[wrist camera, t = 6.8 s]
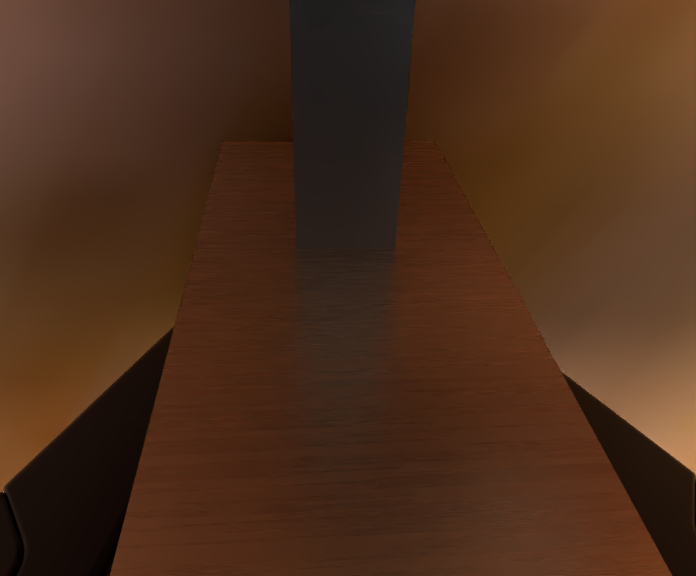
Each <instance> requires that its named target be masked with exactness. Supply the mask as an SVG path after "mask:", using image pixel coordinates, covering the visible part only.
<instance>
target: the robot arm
mask: <svg viewBox="0 0 696 576" xmlns="http://www.w3.org/2000/svg"><path fill="white" fill-rule="evenodd" d="M173 330H174V327H173V328H171V329H170V330H169V331H168V332H167V333H166V334H165V335H164V336H163V337H162V338H161V339H160V340H159V341H158V342H157V343H156V344H155V345H153V346H152V347H151V348H150V349H149V350H148V351H147V352H146V353H145V354H144V355H143V356H142V357H141V358H140V359H139V360H138V361H137V362H135V363H134V364H133V365H132V366H131V367H130V368H129V369H128V370H127V371H126V372H125V373H124V374H123V375H122V376H121V377H120V378H119V379H117V380H116V381H115V382H114V383H113V384H112V385H111V386H110V387H109V388H108V389H107V390H106V391H105V392H104V393H103V394H102V395H100V396H99V397H98V398H97V399H96V400H95V401H94V402H93V403H92V404H91V405H90V406H89V407H88V408H87V409H86V410H85V411H84V412H82V413H81V414H80V415H79V416H78V417H77V418H76V419H75V420H74V421H73V422H72V423H71V424H70V425H69V426H68V427H67V428H66V429H64V430H63V431H62V432H61V433H60V434H59V435H58V436H57V437H56V438H55V439H54V440H53V441H52V442H51V443H50V444H49V445H48V446H46V447H45V448H44V449H43V450H42V451H41V452H40V453H39V454H38V455H37V456H36V457H35V458H34V459H33V460H32V461H31V462H30V463H28V464H27V465H26V466H25V467H24V468H23V469H22V470H21V471H20V472H19V473H18V474H17V475H16V476H15V477H14V478H13V479H11V480H10V481H9V482H8V483H7V484H6V485H5V486H4V489H3V490H4V493H3V492H0V576H110V573H111V569H112V565H113V561H114V557H115V554H116V550H117V546H118V542H119V538H120V534H121V530H122V527H123V523H124V519H125V515H126V511H127V507H128V503H129V500H130V496H131V492H132V488H133V484H134V480H135V476H136V473H137V469H138V465H139V461H140V457H141V453H142V449H143V446H144V442H145V438H146V434H147V430H148V426H149V422H150V419H151V415H152V411H153V407H154V403H155V399H156V395H157V392H158V388H159V384H160V380H161V376H162V372H163V368H164V365H165V361H166V357H167V353H168V349H169V345H170V341H171V338H172V334H173ZM561 373H562V372H561ZM562 375H563V376H564V378H565V380H566V382H567V384H568V386H569V387H570V389H571V391H572V393H573V395H574V397H575V398H576V400H577V402H578V404H579V406H580V408H581V409H582V411H583V413H584V415H585V417H586V419H587V420H588V422H589V424H590V426H591V428H592V430H593V431H594V433H595V435H596V437H597V439H598V441H599V442H600V444H601V446H602V448H603V450H604V452H605V453H606V455H607V457H608V459H609V461H610V463H611V464H612V466H613V468H614V470H615V472H616V474H617V475H618V477H619V479H620V481H621V483H622V485H623V486H624V488H625V490H626V492H627V494H628V496H629V497H630V499H631V501H632V503H633V505H634V507H635V508H636V510H637V512H638V514H639V516H640V518H641V519H642V521H643V523H644V525H645V527H646V529H647V530H648V532H649V534H650V536H651V538H652V540H653V541H654V543H655V545H656V547H657V549H658V551H659V552H660V554H661V556H662V558H663V560H664V562H665V563H666V565H667V567H668V569H669V571H670V573H671V574H672V576H696V475H695V473H693V472H692V471H691V470H690V469H688V468H687V467H686V466H684V465H683V464H682V463H680V462H679V461H678V460H676V459H675V458H674V457H673V456H671V455H670V454H669V453H667V452H666V451H665V450H663V449H662V448H661V447H659V446H658V445H657V444H655V443H654V442H653V441H652V440H650V439H649V438H648V437H646V436H645V435H644V434H642V433H641V432H640V431H638V430H637V429H636V428H635V427H633V426H632V425H631V424H629V423H628V422H627V421H625V420H624V419H623V418H621V417H620V416H619V415H617V414H616V413H615V412H614V411H612V410H611V409H610V408H608V407H607V406H606V405H604V404H603V403H602V402H600V401H599V400H598V399H596V398H595V397H594V396H593V395H591V394H590V393H589V392H587V391H586V390H585V389H583V388H582V387H581V386H579V385H578V384H577V383H576V382H574V381H573V380H572V379H570V378H569V377H568V376H566V375H565V374H564V373H562Z"/></svg>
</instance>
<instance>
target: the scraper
mask: <svg viewBox="0 0 696 576" xmlns="http://www.w3.org/2000/svg"><path fill="white" fill-rule="evenodd" d="M414 12H415V0H290V29H291V69H292V109H293V141H222V145H221V149H220V152H219V156H218V160H217V164H216V168H215V172H214V176H213V179H212V183H211V187H210V191H209V195H208V199H207V203H206V206H205V210H204V214H203V218H202V222H201V226H200V230H199V233H198V237H197V241H196V245H195V249H194V253H193V257H192V260H191V264H190V268H189V272H188V276H187V280H186V284H185V287H184V291H183V295H182V299H181V303H180V307H179V311H178V314H177V318H176V322H175V326H174V330H173V334H172V338H171V341H170V345H169V349H168V353H167V357H166V361H165V365H164V368H163V372H162V376H161V380H160V384H159V388H158V392H157V395H156V399H155V403H154V407H153V411H152V415H151V419H150V422H149V426H148V430H147V434H146V438H145V442H144V446H143V449H142V453H141V457H140V461H139V465H138V469H137V473H136V476H135V480H134V484H133V488H132V492H131V496H130V500H129V503H128V507H127V511H126V515H125V519H124V523H123V527H122V530H121V534H120V538H119V542H118V546H117V550H116V554H115V557H114V561H113V565H112V569H111V573H110V576H672V574H671V573H670V571H669V569H668V567H667V565H666V563H665V562H664V560H663V558H662V556H661V554H660V552H659V551H658V549H657V547H656V545H655V543H654V541H653V540H652V538H651V536H650V534H649V532H648V530H647V529H646V527H645V525H644V523H643V521H642V519H641V518H640V516H639V514H638V512H637V510H636V508H635V507H634V505H633V503H632V501H631V499H630V497H629V496H628V494H627V492H626V490H625V488H624V486H623V485H622V483H621V481H620V479H619V477H618V475H617V474H616V472H615V470H614V468H613V466H612V464H611V463H610V461H609V459H608V457H607V455H606V453H605V452H604V450H603V448H602V446H601V444H600V442H599V441H598V439H597V437H596V435H595V433H594V431H593V430H592V428H591V426H590V424H589V422H588V420H587V419H586V417H585V415H584V413H583V411H582V409H581V408H580V406H579V404H578V402H577V400H576V398H575V397H574V395H573V393H572V391H571V389H570V387H569V386H568V384H567V382H566V380H565V378H564V376H563V375H562V373H561V371H560V369H559V367H558V365H557V364H556V362H555V360H554V358H553V356H552V354H551V353H550V351H549V349H548V347H547V345H546V343H545V342H544V340H543V338H542V336H541V334H540V332H539V331H538V329H537V327H536V325H535V323H534V321H533V320H532V318H531V316H530V314H529V312H528V310H527V309H526V307H525V305H524V303H523V301H522V299H521V298H520V296H519V294H518V292H517V290H516V288H515V287H514V285H513V283H512V281H511V279H510V277H509V276H508V274H507V272H506V270H505V268H504V266H503V265H502V263H501V261H500V259H499V257H498V255H497V254H496V252H495V250H494V248H493V246H492V245H491V243H490V241H489V239H488V237H487V235H486V234H485V232H484V230H483V228H482V226H481V224H480V223H479V221H478V219H477V217H476V215H475V213H474V212H473V210H472V208H471V206H470V204H469V202H468V201H467V199H466V197H465V195H464V193H463V191H462V190H461V188H460V186H459V184H458V182H457V180H456V179H455V177H454V175H453V173H452V171H451V169H450V168H449V166H448V164H447V162H446V160H445V158H444V157H443V155H442V153H441V151H440V149H439V147H438V146H437V144H436V142H435V141H404V136H405V124H406V111H407V99H408V86H409V74H410V62H411V49H412V37H413V24H414Z"/></svg>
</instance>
